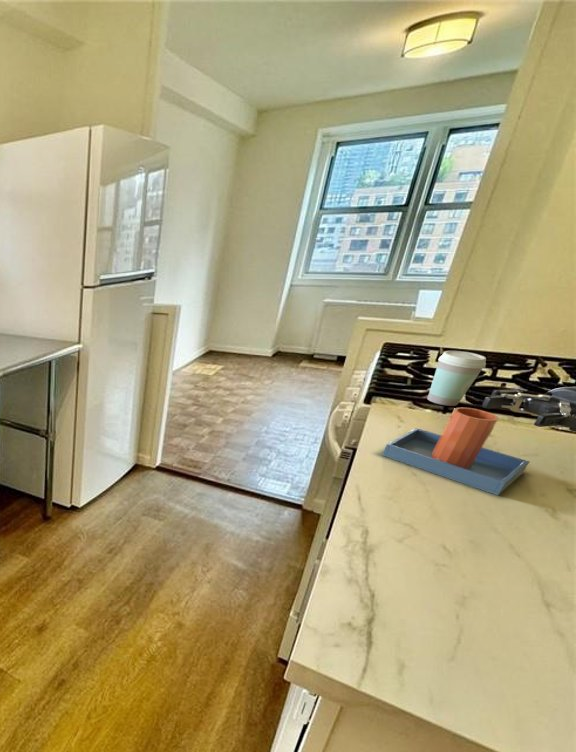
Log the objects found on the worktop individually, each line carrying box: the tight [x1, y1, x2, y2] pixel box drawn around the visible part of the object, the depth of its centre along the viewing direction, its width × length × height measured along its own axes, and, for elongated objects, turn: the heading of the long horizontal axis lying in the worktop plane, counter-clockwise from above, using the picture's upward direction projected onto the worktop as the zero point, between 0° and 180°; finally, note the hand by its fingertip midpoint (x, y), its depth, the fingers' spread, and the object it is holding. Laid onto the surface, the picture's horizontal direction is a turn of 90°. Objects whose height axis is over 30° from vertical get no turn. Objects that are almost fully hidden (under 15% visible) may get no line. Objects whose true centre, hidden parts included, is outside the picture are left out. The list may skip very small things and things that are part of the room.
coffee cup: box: [426, 350, 487, 407], centre depth 118 cm, size 8×9×12 cm
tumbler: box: [431, 406, 500, 469], centre depth 90 cm, size 6×6×10 cm
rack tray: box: [381, 427, 530, 496], centre depth 92 cm, size 17×14×2 cm
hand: (511, 411), depth 89 cm, fingers open, 8 cm apart
